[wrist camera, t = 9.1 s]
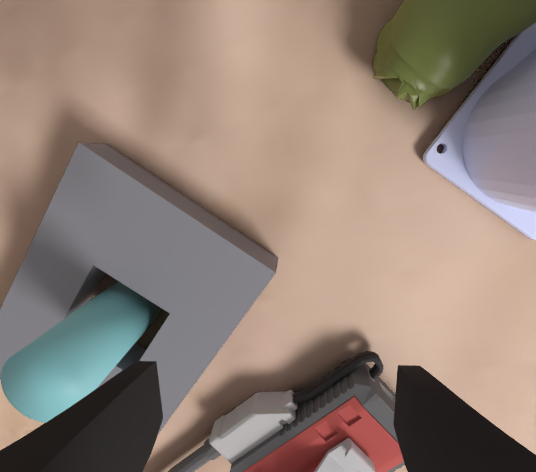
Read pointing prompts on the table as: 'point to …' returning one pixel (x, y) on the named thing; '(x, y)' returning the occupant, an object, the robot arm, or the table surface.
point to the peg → (76, 353)
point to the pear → (444, 43)
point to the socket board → (136, 267)
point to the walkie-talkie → (310, 427)
